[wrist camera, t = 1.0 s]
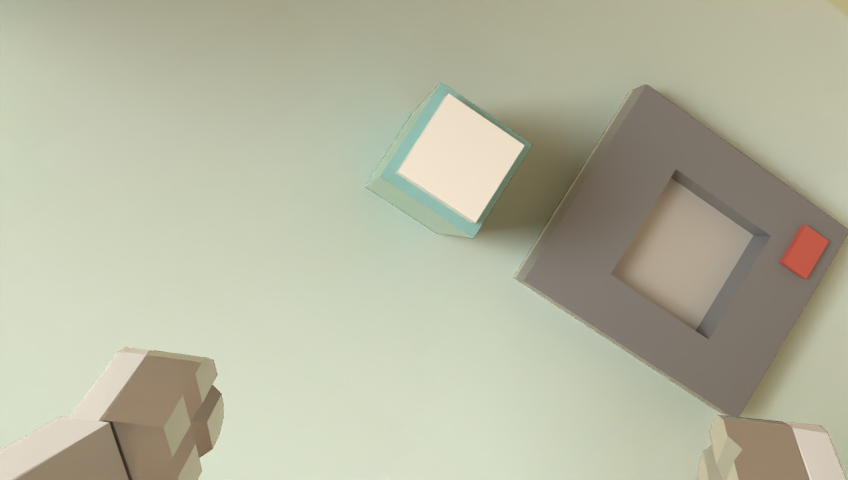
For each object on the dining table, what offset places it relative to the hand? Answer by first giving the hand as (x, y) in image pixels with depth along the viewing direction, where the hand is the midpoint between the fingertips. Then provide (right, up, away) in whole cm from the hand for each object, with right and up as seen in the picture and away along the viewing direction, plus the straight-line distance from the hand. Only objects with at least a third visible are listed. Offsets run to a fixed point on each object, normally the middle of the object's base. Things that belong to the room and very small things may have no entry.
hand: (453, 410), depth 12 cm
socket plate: (+13, +2, +28) cm, 31 cm away
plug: (0, +6, +26) cm, 27 cm away
